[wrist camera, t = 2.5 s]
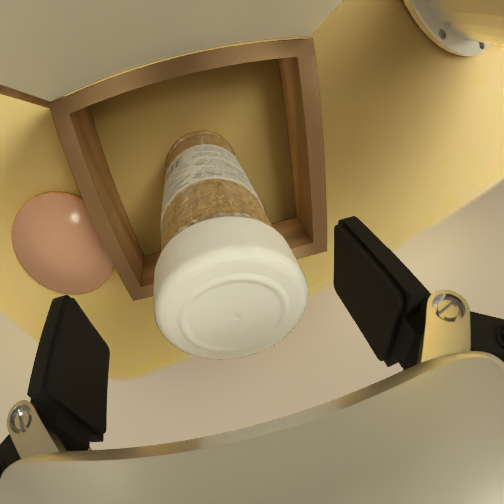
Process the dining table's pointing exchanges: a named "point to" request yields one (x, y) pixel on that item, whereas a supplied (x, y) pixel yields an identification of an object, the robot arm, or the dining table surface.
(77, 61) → the frame lid
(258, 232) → the sprinkles bottle
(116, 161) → the dining table surface
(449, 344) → the robot arm
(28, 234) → the saucer
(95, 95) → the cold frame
